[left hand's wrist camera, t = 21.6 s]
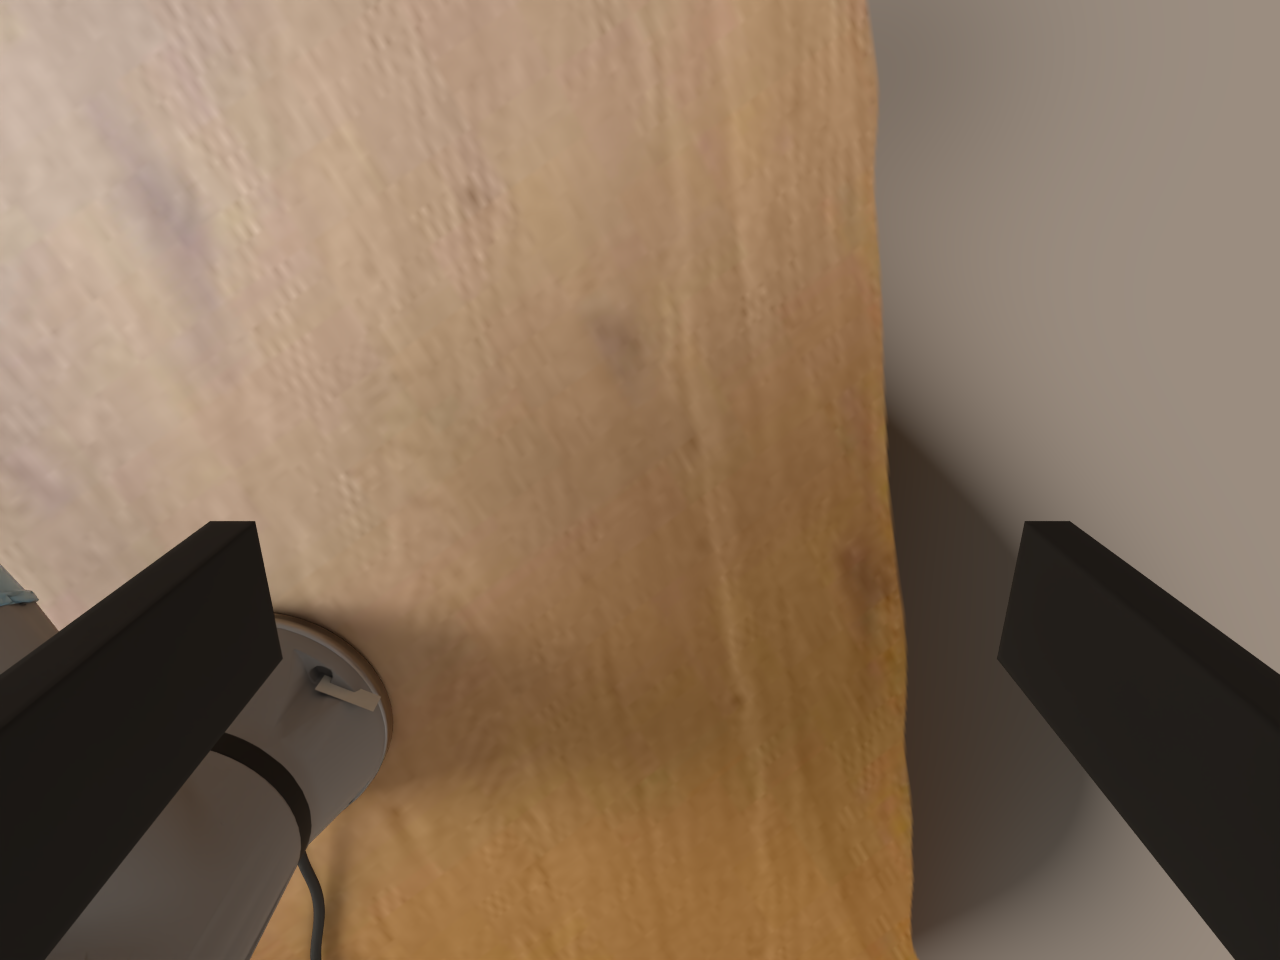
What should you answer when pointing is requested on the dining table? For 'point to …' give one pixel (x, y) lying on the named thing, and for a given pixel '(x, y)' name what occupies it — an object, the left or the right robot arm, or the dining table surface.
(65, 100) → the dining table surface
